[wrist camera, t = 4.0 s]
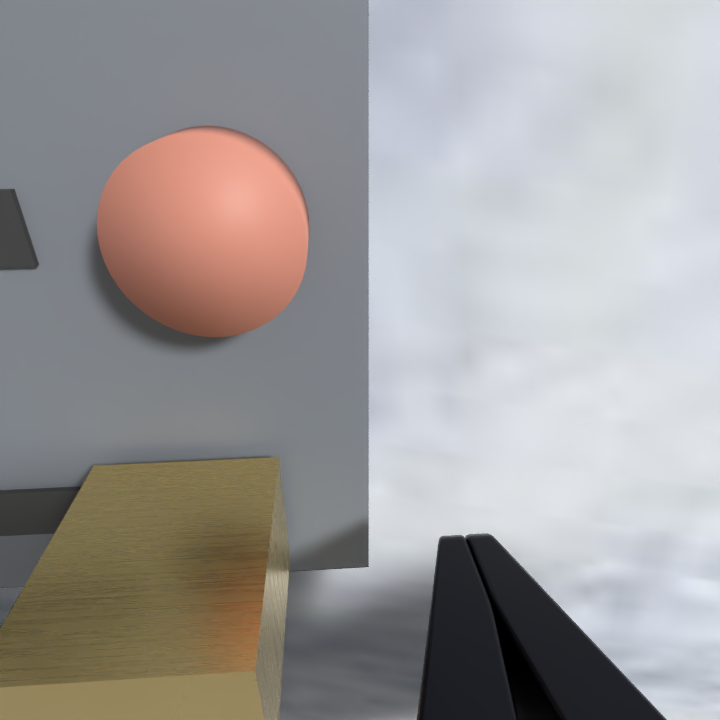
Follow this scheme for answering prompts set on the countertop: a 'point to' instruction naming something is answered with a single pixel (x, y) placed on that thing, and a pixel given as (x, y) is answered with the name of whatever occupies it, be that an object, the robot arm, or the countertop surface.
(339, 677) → the countertop surface
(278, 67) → the panel
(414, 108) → the countertop surface
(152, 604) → the brushed brass brick
